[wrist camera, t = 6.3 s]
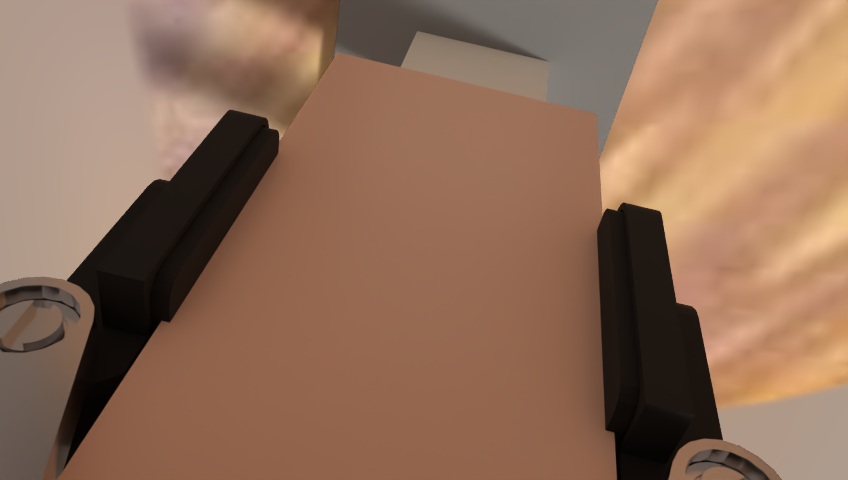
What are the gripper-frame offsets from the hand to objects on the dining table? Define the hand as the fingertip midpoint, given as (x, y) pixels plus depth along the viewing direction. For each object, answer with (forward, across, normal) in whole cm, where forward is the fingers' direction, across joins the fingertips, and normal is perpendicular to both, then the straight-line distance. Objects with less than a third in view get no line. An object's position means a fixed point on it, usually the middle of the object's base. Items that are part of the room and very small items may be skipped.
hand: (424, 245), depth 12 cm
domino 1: (+4, 0, 0) cm, 4 cm away
